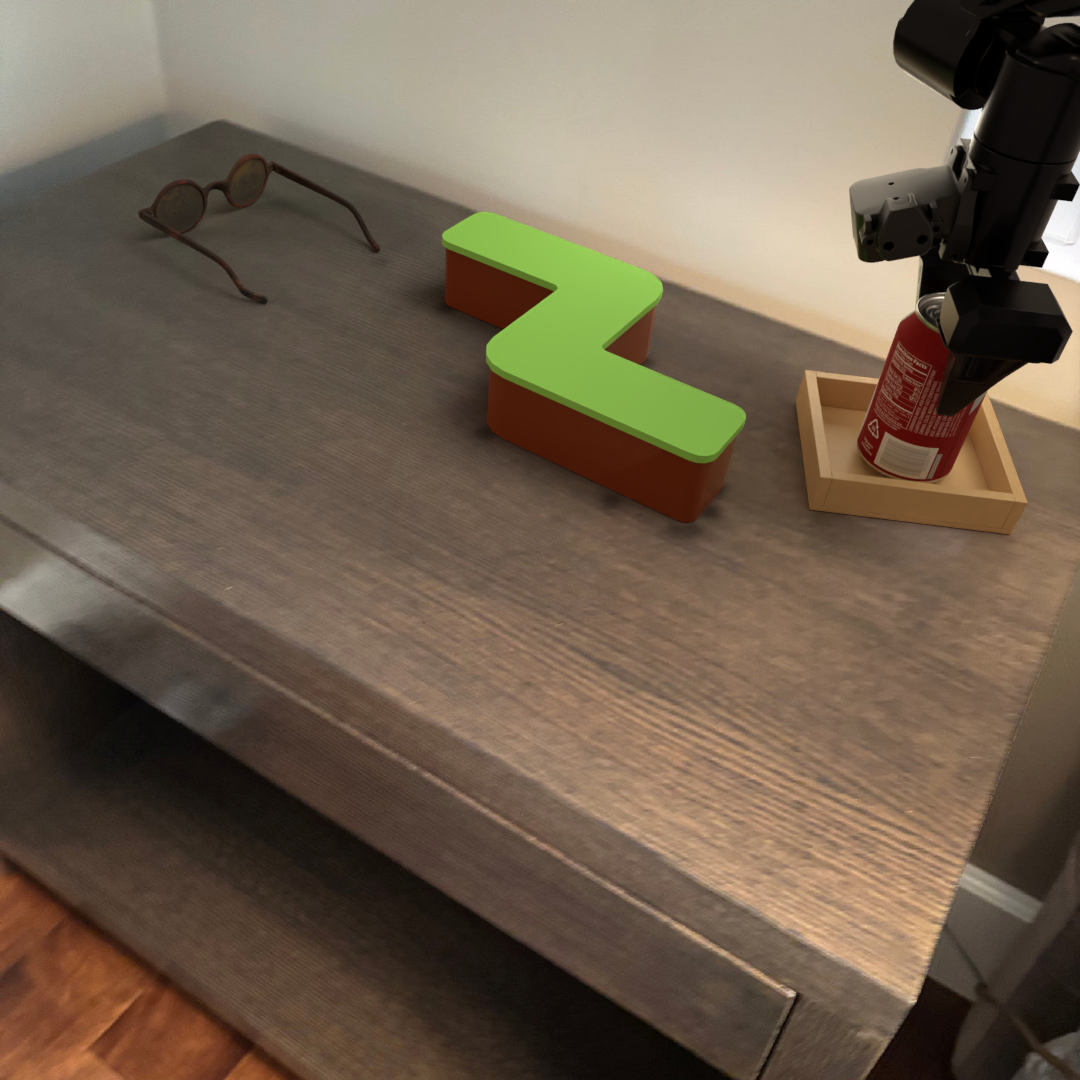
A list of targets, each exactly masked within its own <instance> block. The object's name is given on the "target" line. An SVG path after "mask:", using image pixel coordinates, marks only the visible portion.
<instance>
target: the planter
mask: <svg viewBox="0 0 1080 1080" xmlns="http://www.w3.org/2000/svg"><path fill="white" fill-rule="evenodd" d="M441 244H442V246H443V247H444V248H445V268H444V269H445V271H444V273H445V274H444V275H445V277H444V302H445V304H446V306H448V307H449V308H452V309H455V310H457V311H459V312H462V313H464V314H466V315H468V316H472V317H474V318H476V319H478V320H481V321H483V322H485V323H488V324H490V325H493V326H495V327H497V328H500V329H501V331H499V332H497V334H495V335H494V336H492V337H491V339H490V340H489V341H488V343H487V344H486V346H485V347H486V348H485V363H486V364H487V366H488V368H489V373H488V375H489V376H488V393H487V394H488V395H487V396H488V397H487V414H486V415H487V416H486V424H487V426H488V427H489V429H490V430H491V432H492V433H493V434H495V435H497V436H498V437H499V438H501V439H503V440H505V441H507V442H509V443H511V444H513V445H516V446H518V447H519V448H522V449H524V450H526V451H528V452H530V453H532V454H534V455H537V456H539V457H541V458H543V459H545V460H548V461H549V462H551V463H554V464H556V465H559V466H560V467H562V468H564V469H567V470H568V471H571V472H573V473H575V474H577V475H579V476H582V477H584V478H585V479H588V480H590V481H592V482H594V483H596V484H598V485H601V486H603V487H605V488H607V489H609V490H611V491H613V492H616V493H618V494H620V495H622V496H624V497H627V498H628V499H631V500H633V501H634V502H637V503H639V504H641V505H644V506H646V507H648V508H650V509H652V510H654V511H656V512H658V513H660V514H663V515H665V516H667V517H669V518H671V519H673V520H675V521H678V522H681V523H693V522H695V521H696V520H698V519H699V517H701V515H702V514H703V513H704V512H705V510H706V509H707V508H708V507H709V505H710V504H711V503H712V502H713V501H714V499H715V498H716V497H717V496H718V495H719V494H720V492H722V490H723V488H724V486H725V483H726V480H727V474H728V472H729V467H730V463H731V459H732V456H733V453H734V448H735V444H736V440H737V436H738V435H739V434H740V432H741V431H742V430H744V426H745V424H746V420H747V414H746V411H744V409H743V408H742V407H740V406H738V405H736V404H735V403H733V402H730V401H727V400H725V399H723V398H720V397H718V396H715V395H713V394H711V393H709V392H707V391H704V390H701V389H699V388H696V387H694V386H692V385H689V384H687V383H684V382H682V381H679V380H677V379H675V378H673V377H670V376H668V375H666V374H663V373H660V372H658V371H656V370H653V369H651V368H648V367H646V366H643V365H642V364H643V363H644V362H645V361H646V359H647V357H648V356H649V351H650V346H651V341H652V335H653V329H654V323H655V318H656V311H657V306H658V304H659V303H660V301H661V300H662V298H663V293H664V287H663V282H662V281H661V280H660V279H659V278H658V277H657V276H656V275H655V274H653V273H652V272H650V271H648V270H645V269H644V268H641V267H639V266H636V265H633V264H631V263H629V262H625V261H623V260H620V259H618V258H615V257H612V256H609V255H606V254H604V253H602V252H598V251H596V250H594V249H591V248H588V247H586V246H583V245H580V244H578V243H575V242H573V241H570V240H567V239H564V238H562V237H559V236H557V235H553V234H551V233H548V232H547V231H543V230H540V229H537V228H535V227H533V226H530V225H528V224H525V223H521V222H519V221H516V220H513V219H511V218H508V217H506V216H503V215H500V214H497V213H495V212H491V211H479V212H476V213H473V214H471V215H469V216H468V217H466V218H464V219H463V220H461V221H459V222H458V223H456V224H455V225H452V226H451V227H449V228H447V229H446V230H445V231H443V233H442V234H441Z"/></svg>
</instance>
